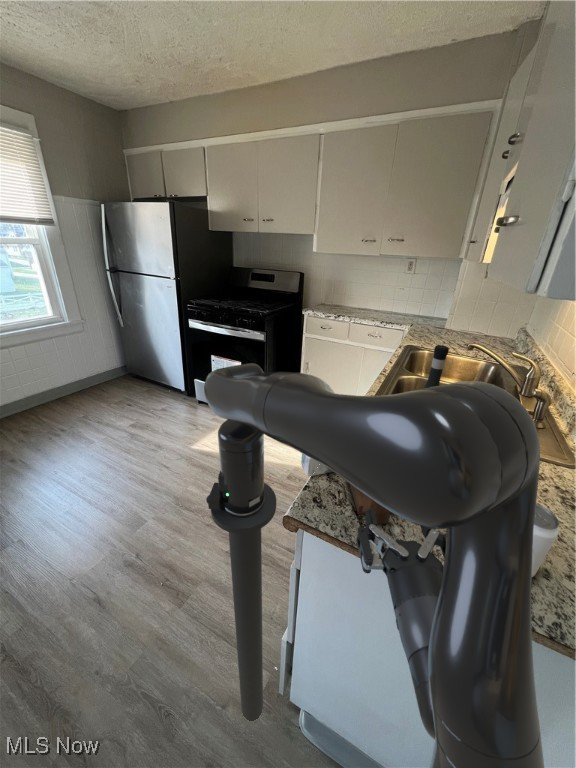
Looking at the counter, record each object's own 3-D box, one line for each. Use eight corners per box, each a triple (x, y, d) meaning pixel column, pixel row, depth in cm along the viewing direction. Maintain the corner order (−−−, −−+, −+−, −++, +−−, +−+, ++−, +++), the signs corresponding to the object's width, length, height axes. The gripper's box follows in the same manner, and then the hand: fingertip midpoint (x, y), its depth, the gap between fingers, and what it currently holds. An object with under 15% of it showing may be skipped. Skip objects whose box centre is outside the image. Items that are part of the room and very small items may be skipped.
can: (513, 543, 60) (536, 497, 55) (544, 576, 55) (573, 527, 49) (484, 549, 59) (505, 502, 54) (513, 583, 53) (540, 534, 48)
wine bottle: (437, 452, 86) (467, 347, 73) (422, 464, 81) (451, 354, 68) (410, 438, 91) (434, 339, 78) (395, 448, 86) (417, 345, 74)
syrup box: (353, 435, 81) (300, 443, 78) (364, 449, 76) (308, 458, 73) (351, 453, 84) (299, 461, 80) (361, 468, 79) (306, 477, 75)
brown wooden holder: (399, 523, 64) (410, 482, 59) (361, 524, 63) (368, 482, 59) (382, 483, 74) (390, 445, 69) (348, 483, 74) (354, 445, 69)
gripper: (496, 604, 37) (443, 499, 51) (373, 593, 37) (356, 493, 52) (477, 639, 40) (433, 531, 55) (365, 629, 41) (350, 525, 55)
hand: (395, 512), depth 53 cm, fingers open, 8 cm apart
